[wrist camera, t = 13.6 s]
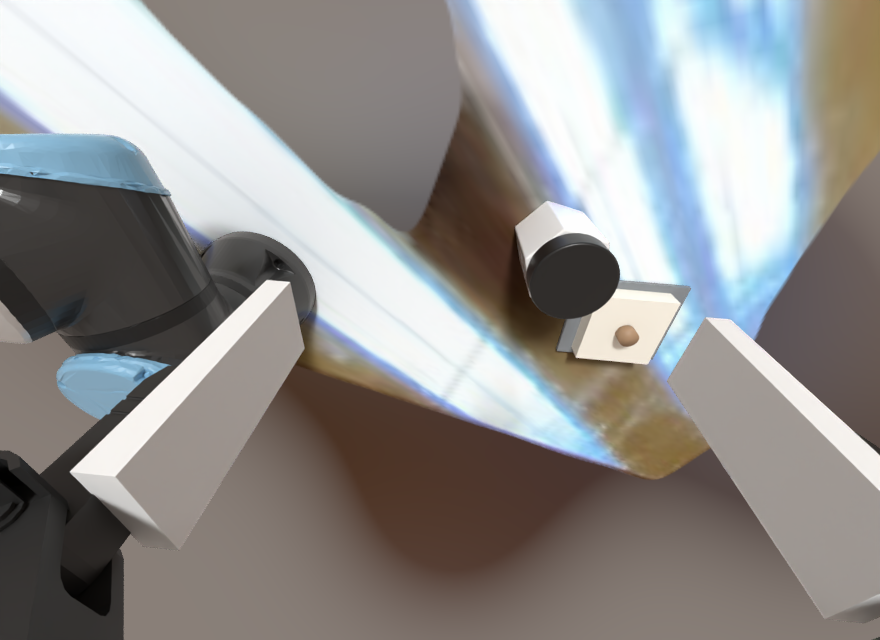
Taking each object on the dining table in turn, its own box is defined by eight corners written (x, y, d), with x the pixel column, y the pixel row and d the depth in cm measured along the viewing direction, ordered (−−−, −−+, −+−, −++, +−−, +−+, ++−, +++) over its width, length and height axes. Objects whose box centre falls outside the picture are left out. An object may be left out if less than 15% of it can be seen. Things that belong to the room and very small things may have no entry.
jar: (538, 280, 45) (557, 336, 35) (499, 237, 42) (508, 284, 32) (601, 236, 41) (642, 284, 32) (562, 185, 38) (595, 220, 29)
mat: (555, 348, 51) (556, 350, 51) (579, 276, 45) (580, 279, 44) (650, 356, 51) (652, 359, 51) (688, 286, 44) (691, 288, 44)
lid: (571, 346, 50) (578, 364, 47) (592, 286, 44) (602, 302, 41) (640, 352, 50) (652, 371, 47) (670, 293, 44) (687, 310, 41)
